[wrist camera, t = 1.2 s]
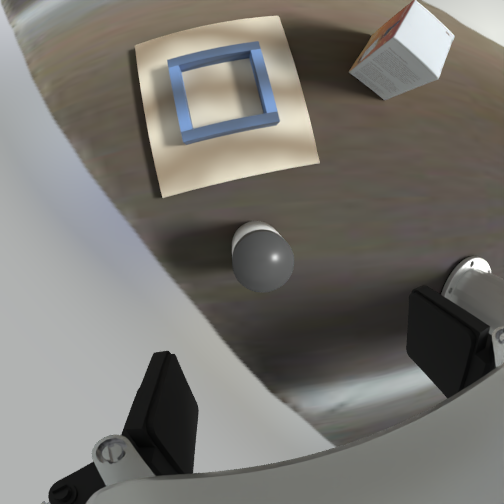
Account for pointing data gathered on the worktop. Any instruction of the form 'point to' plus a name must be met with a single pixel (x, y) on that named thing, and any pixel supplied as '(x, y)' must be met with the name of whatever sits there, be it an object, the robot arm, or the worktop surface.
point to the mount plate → (223, 104)
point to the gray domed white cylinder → (261, 257)
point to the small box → (404, 52)
